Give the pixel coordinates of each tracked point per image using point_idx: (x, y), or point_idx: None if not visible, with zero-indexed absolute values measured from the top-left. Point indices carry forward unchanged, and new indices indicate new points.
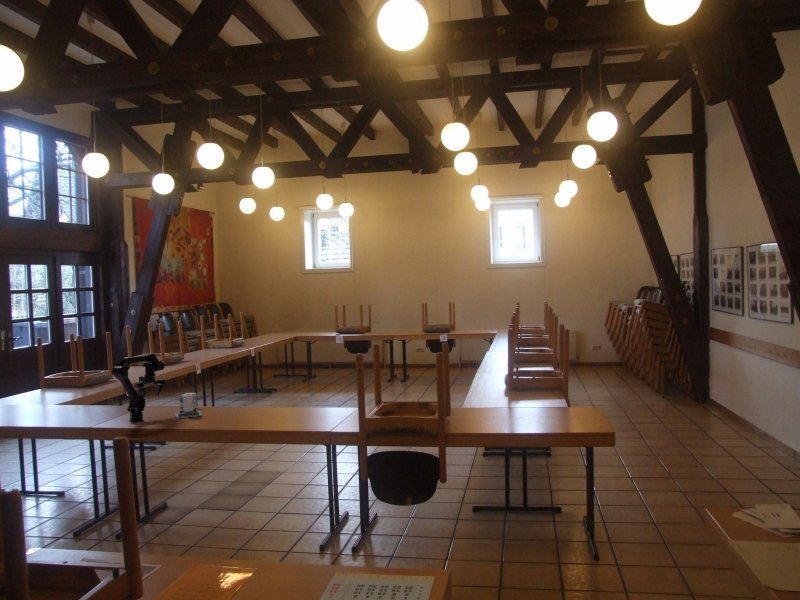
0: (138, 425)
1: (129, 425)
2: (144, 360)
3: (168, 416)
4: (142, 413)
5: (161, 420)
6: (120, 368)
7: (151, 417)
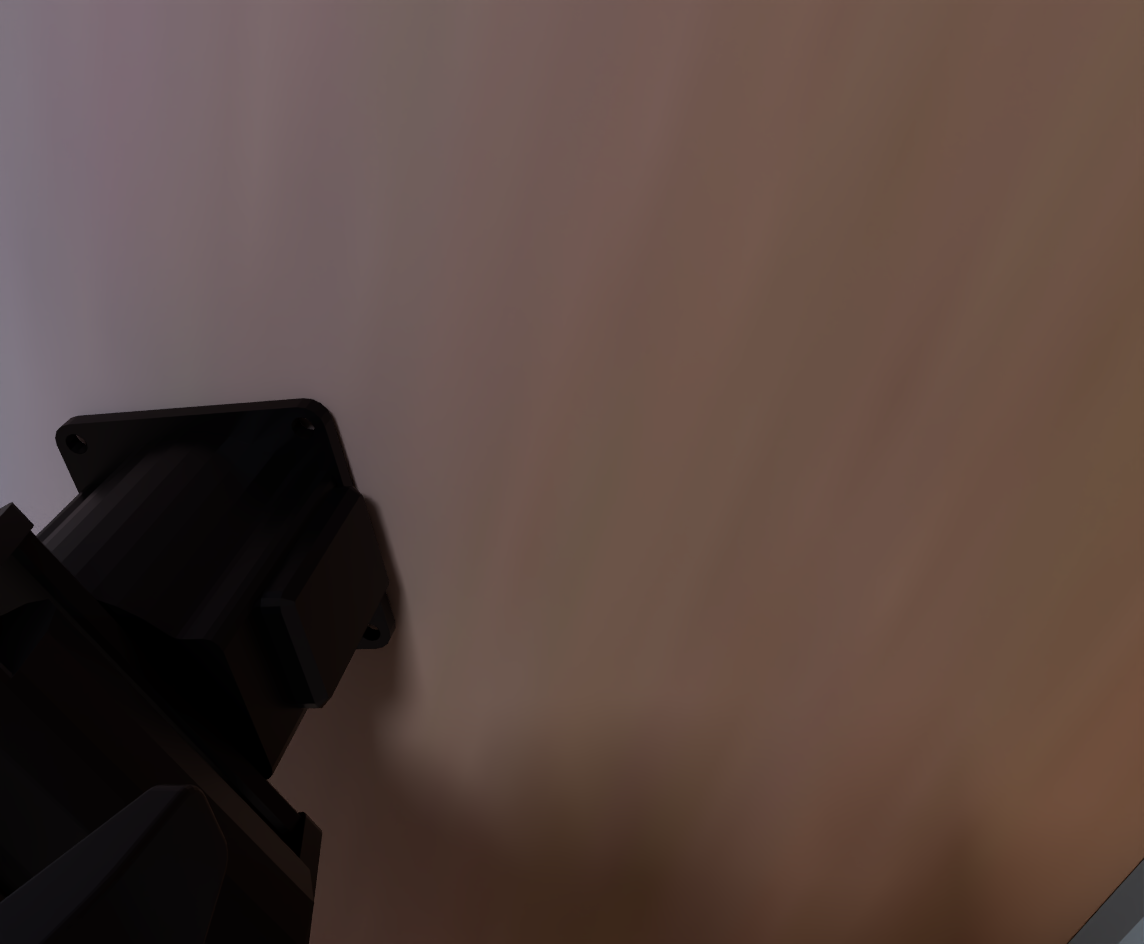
0: None
1: None
2: None
3: (1098, 654)
4: (327, 696)
5: (738, 891)
6: None
7: (682, 413)
